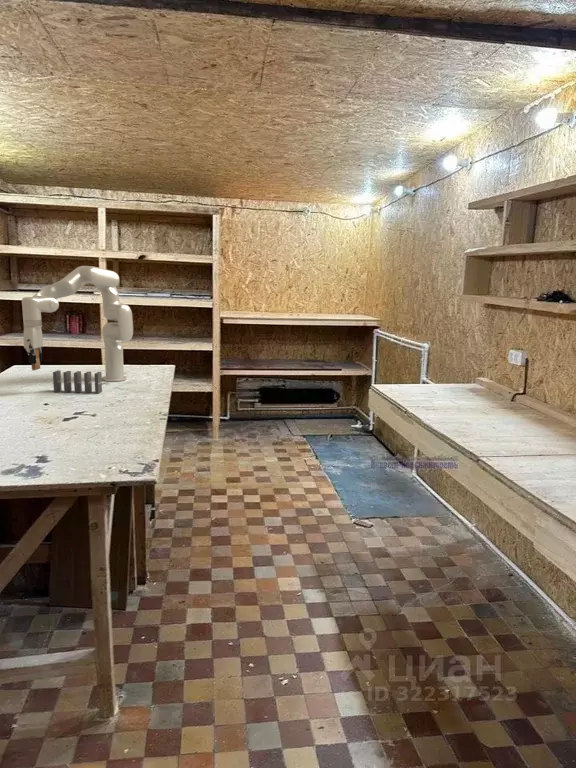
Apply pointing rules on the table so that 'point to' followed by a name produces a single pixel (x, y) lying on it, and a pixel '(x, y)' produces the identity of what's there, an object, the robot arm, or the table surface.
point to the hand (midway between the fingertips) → (35, 362)
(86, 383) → the domino
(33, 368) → the domino
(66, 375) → the domino
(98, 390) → the domino
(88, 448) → the table surface
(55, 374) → the domino
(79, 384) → the domino
